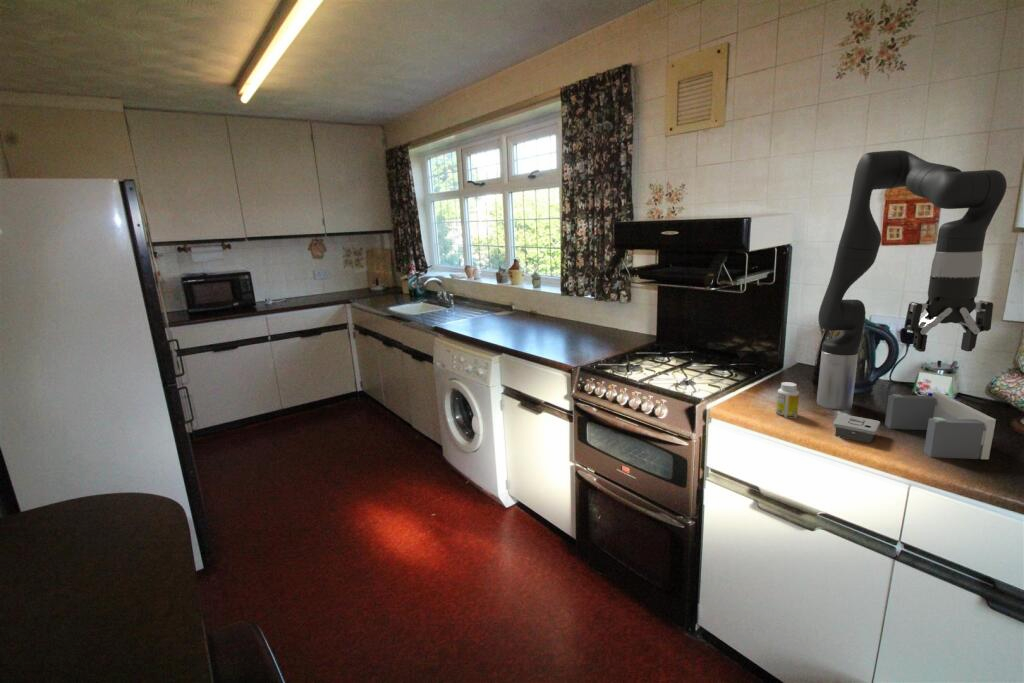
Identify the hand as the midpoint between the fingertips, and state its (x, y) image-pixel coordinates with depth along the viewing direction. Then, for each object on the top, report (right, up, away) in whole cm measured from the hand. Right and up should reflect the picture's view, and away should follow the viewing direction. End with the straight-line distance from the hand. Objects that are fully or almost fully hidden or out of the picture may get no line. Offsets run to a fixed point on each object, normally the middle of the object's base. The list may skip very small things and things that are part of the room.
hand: (942, 350), depth 101 cm
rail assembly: (+17, -24, +22) cm, 37 cm away
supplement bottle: (-9, -21, +42) cm, 48 cm away
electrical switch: (+4, -24, +25) cm, 35 cm away
